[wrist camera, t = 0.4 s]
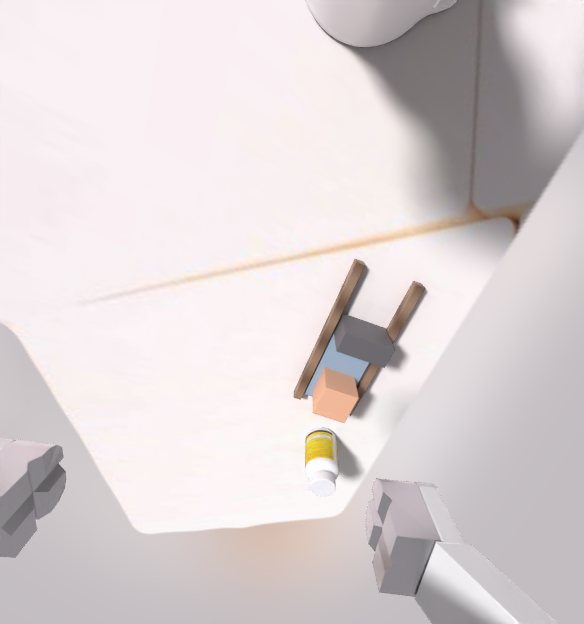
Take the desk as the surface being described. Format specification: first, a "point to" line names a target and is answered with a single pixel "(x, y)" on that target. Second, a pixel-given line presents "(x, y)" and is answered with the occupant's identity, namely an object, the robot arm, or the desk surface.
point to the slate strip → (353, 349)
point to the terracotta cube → (334, 395)
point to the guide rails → (334, 317)
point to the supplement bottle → (321, 461)
